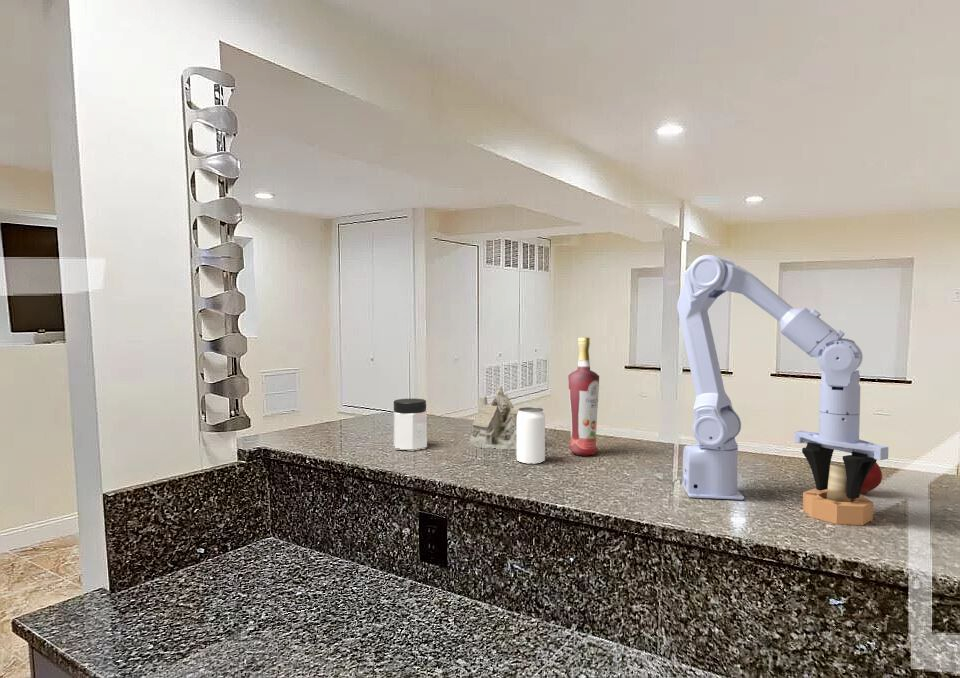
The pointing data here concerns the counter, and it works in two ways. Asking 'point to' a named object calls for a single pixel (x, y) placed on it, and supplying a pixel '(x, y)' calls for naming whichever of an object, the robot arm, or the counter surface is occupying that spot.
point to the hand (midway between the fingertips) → (837, 493)
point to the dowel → (837, 484)
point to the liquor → (583, 403)
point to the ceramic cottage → (495, 423)
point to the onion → (872, 479)
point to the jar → (410, 423)
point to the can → (530, 435)
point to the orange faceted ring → (837, 508)
